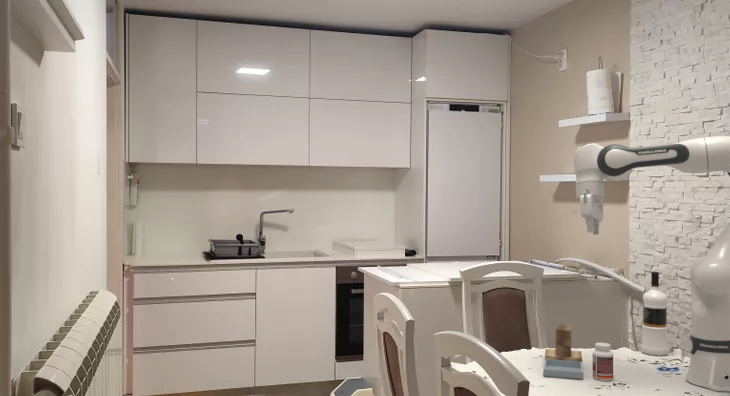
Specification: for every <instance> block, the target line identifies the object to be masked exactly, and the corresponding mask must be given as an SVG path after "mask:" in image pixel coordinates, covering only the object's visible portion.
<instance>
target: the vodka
mask: <svg viewBox="0 0 730 396" xmlns="http://www.w3.org/2000/svg"><path fill="white" fill-rule="evenodd" d="M650 274H651V275H650V278H651V279H650V281H651V283H650V285H651V286H650V289H649V290H648V291H646V292H645V293H643V295H642V325H641V327H642V336H641V337H642V339H641V345H640V350H641V352H642V353H643V354H645V355H647V356H656V357H663V356H666V355H668V354H669V345H668V332H667V331H668V326H667V317H668V313H667V311H668V309H667V308H668V300H669V299H668V296H667V295H666V294H665V293H663V291H661V290H660V275H659V274H660V272H658V271H651V272H650Z"/></svg>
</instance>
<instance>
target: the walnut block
mask: <svg viewBox="0 0 730 396" xmlns="http://www.w3.org/2000/svg"><path fill="white" fill-rule="evenodd" d="M555 349H556V356H562V357H571V351H572V325H571V324H560V323H559V324H557V323H556V325H555Z"/></svg>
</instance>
